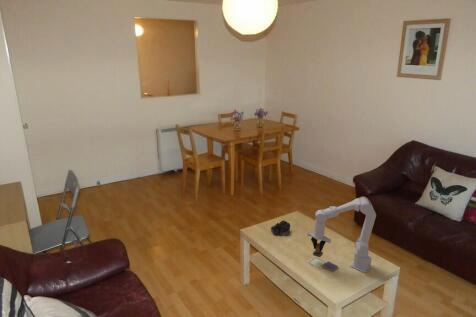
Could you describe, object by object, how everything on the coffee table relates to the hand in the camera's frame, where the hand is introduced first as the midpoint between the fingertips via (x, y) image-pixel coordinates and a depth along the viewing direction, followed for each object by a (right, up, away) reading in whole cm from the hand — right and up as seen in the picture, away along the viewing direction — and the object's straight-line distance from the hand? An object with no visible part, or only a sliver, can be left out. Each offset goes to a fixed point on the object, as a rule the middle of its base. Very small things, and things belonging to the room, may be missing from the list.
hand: (318, 249), depth 207 cm
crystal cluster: (-18, +2, +39) cm, 43 cm away
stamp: (0, -3, +1) cm, 4 cm away
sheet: (0, -9, +3) cm, 10 cm away
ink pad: (+7, -10, -1) cm, 13 cm away
